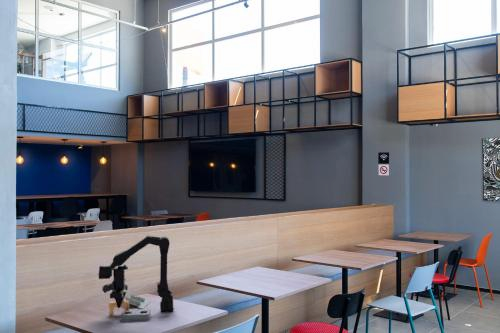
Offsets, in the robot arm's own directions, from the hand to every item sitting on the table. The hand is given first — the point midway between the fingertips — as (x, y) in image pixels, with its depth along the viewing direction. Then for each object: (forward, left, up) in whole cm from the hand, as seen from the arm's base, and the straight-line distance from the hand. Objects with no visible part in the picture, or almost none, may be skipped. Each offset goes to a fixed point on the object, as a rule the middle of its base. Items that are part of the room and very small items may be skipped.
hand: (119, 307), depth 254 cm
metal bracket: (-6, -17, -4) cm, 18 cm away
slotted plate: (-10, +9, -4) cm, 14 cm away
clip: (0, 0, -4) cm, 4 cm away
